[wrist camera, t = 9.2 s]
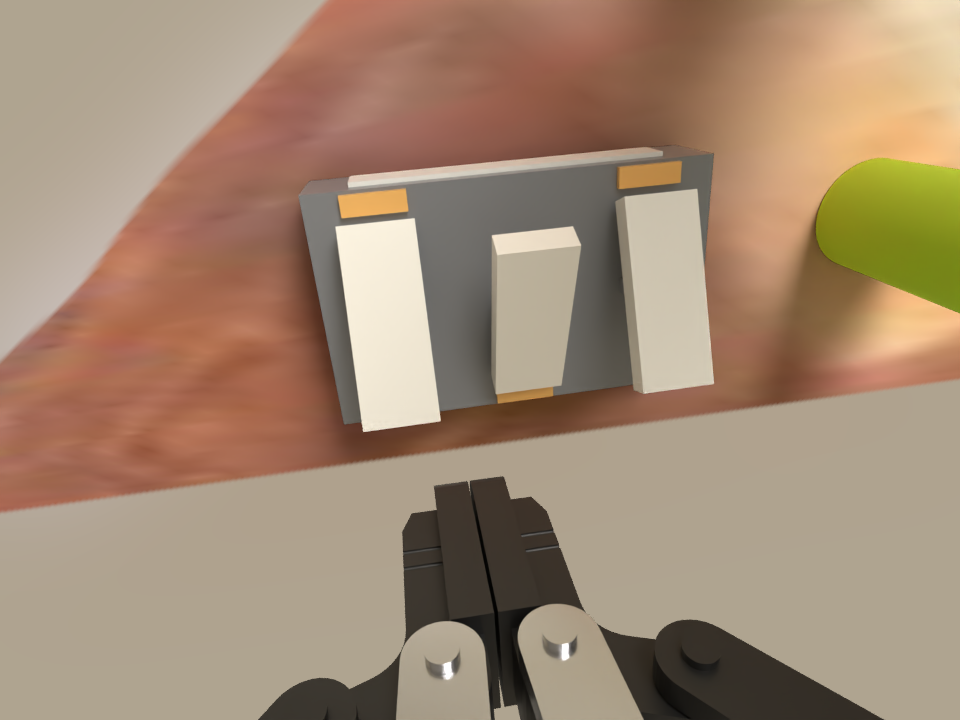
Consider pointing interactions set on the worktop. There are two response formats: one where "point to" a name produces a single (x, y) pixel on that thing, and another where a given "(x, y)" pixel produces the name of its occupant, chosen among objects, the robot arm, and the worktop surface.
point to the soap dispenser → (897, 226)
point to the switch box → (468, 256)
